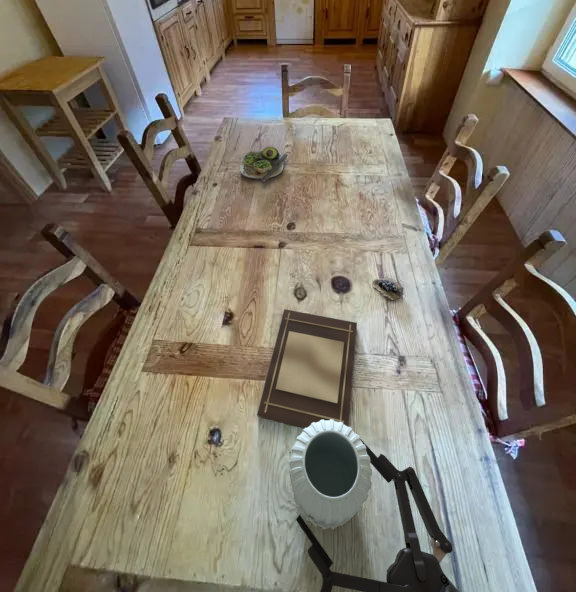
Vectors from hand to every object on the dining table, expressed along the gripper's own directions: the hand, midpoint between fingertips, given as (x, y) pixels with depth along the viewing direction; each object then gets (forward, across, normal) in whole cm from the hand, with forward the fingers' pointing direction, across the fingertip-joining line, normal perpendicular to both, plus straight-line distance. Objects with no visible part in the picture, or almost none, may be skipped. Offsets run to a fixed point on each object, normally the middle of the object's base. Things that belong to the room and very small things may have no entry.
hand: (329, 477), depth 53 cm
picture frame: (+17, +13, -12) cm, 24 cm away
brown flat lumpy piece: (+18, +42, -12) cm, 47 cm away
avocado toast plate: (+82, +52, -12) cm, 98 cm away
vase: (0, 0, -12) cm, 12 cm away
